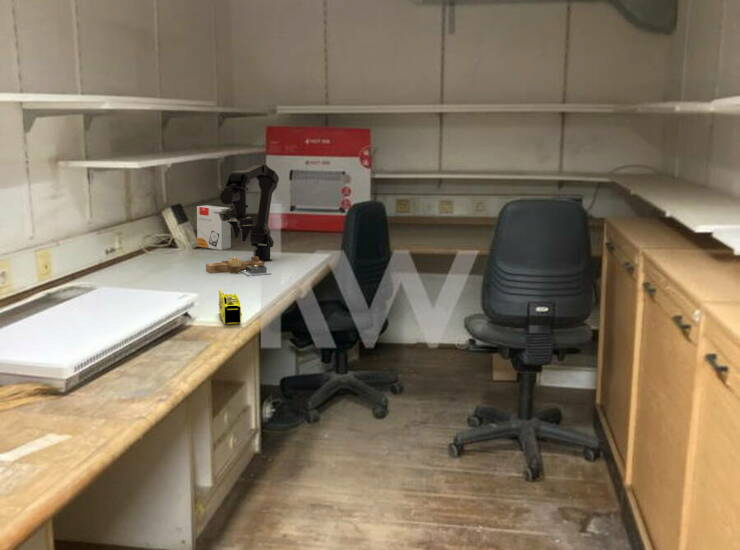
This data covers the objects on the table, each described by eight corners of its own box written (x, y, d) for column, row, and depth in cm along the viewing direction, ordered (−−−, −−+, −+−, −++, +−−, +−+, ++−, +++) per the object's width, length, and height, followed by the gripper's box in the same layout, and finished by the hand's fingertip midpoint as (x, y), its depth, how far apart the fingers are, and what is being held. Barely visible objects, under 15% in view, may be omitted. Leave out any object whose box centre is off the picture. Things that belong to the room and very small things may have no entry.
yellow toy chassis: (217, 313, 220) (217, 287, 218) (235, 312, 222) (235, 286, 220) (222, 326, 205) (222, 299, 204) (242, 325, 207) (241, 298, 205)
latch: (237, 264, 285) (237, 256, 284) (241, 266, 281) (241, 258, 280) (228, 264, 283) (228, 256, 282) (232, 266, 279) (232, 258, 278)
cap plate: (260, 270, 287) (260, 263, 286) (266, 272, 281) (266, 266, 281) (245, 271, 283) (245, 264, 283) (250, 274, 278) (250, 267, 277)
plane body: (256, 265, 299) (256, 254, 298) (267, 270, 288) (267, 259, 287) (203, 269, 287) (203, 257, 286) (212, 274, 277) (212, 262, 276)
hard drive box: (196, 246, 342) (195, 206, 338) (206, 245, 348) (206, 205, 344) (221, 250, 335) (221, 208, 331) (231, 248, 341) (231, 207, 337)
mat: (264, 270, 288) (264, 269, 288) (271, 274, 281) (271, 273, 281) (241, 272, 283) (241, 271, 283) (247, 276, 277) (247, 274, 276)
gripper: (213, 200, 293) (213, 237, 296) (228, 205, 277) (228, 244, 280) (238, 199, 298) (239, 235, 301) (254, 204, 282) (254, 242, 286)
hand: (239, 239), depth 292 cm, fingers open, 9 cm apart
